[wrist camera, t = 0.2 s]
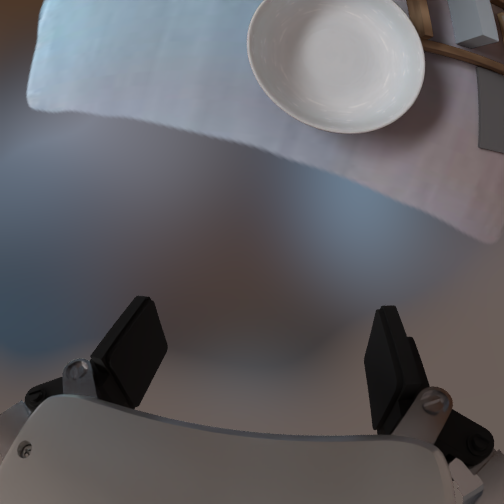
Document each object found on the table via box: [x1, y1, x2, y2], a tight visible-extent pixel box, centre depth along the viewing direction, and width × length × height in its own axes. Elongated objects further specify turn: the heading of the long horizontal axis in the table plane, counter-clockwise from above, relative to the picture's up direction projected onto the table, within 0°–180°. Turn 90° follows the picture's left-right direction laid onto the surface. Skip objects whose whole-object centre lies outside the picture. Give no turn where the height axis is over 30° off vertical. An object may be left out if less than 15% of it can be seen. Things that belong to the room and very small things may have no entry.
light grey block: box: [447, 0, 499, 49], centre depth 19 cm, size 10×3×8 cm, turn 4°
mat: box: [476, 67, 504, 153], centre depth 27 cm, size 13×6×1 cm, turn 4°
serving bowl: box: [247, 0, 425, 134], centre depth 27 cm, size 21×21×7 cm
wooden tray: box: [406, 0, 504, 75], centre depth 19 cm, size 15×26×4 cm, turn 94°
